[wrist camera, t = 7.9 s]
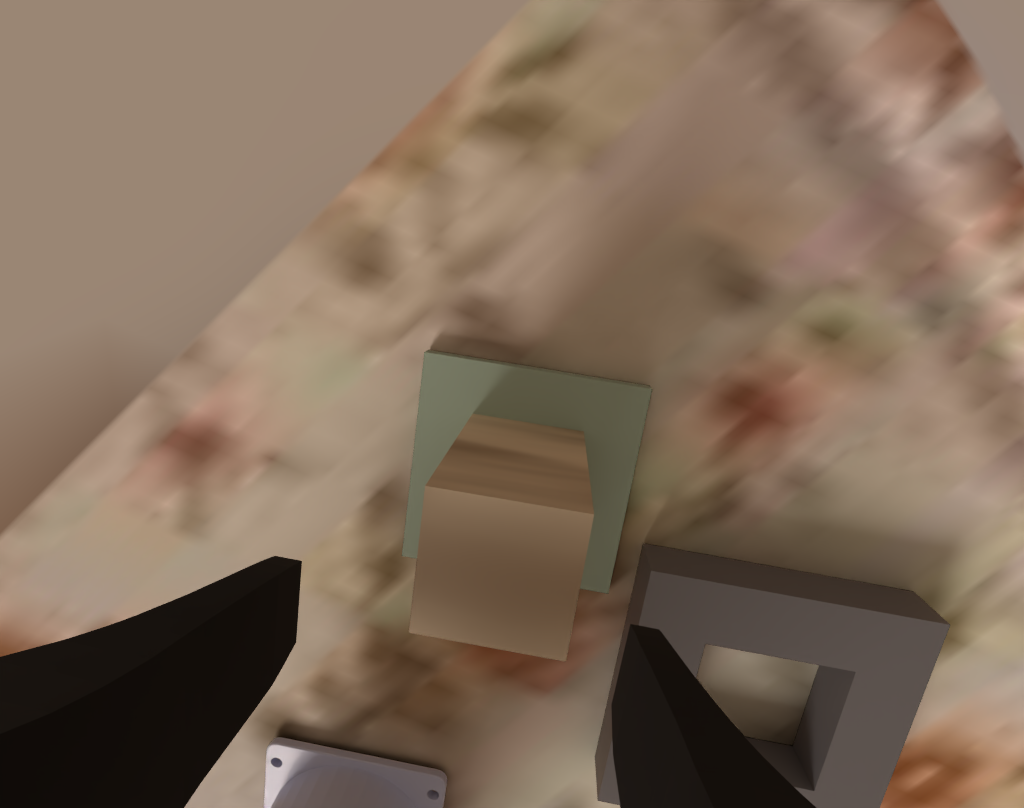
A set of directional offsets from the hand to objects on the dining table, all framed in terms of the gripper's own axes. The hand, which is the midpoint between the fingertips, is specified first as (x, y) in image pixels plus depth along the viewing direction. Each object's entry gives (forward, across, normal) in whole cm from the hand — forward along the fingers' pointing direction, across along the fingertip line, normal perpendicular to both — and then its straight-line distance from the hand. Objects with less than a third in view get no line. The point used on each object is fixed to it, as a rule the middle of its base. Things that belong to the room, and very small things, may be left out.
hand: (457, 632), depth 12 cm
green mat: (+9, -1, 0) cm, 9 cm away
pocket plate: (+9, -11, +7) cm, 16 cm away
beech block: (+9, -1, 0) cm, 9 cm away
